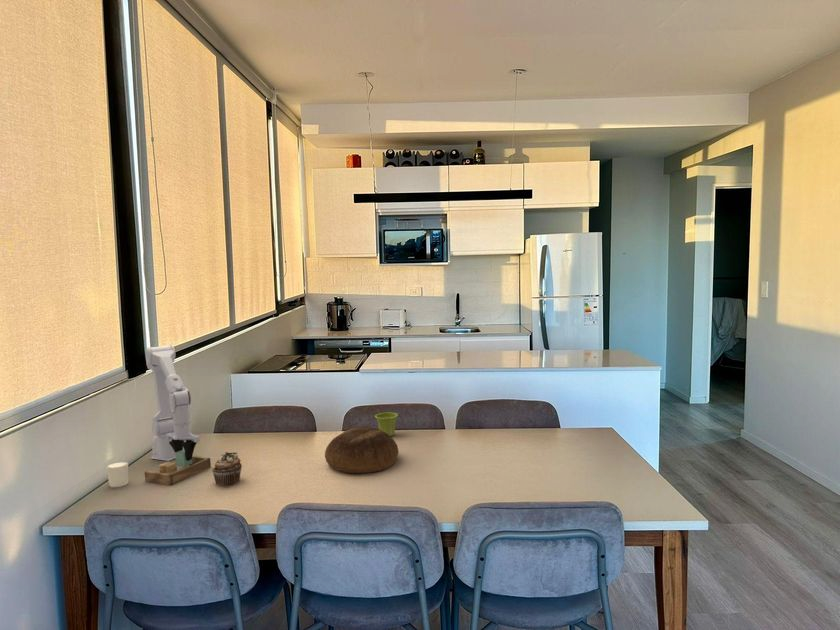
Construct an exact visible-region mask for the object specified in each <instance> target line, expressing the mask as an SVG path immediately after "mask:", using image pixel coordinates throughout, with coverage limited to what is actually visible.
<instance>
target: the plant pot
mask: <svg viewBox="0 0 840 630" xmlns="http://www.w3.org/2000/svg"><path fill="white" fill-rule="evenodd" d="M397 417H399V415H398V413H396V412H381V413H377V414H376V415H375V418H376V421H377V424H378V429H380V430H382V431H384V432H386V433H387V434H388V435H390V436H391V437H393V436H395V431H396V423H397V421H396V420H397Z"/></svg>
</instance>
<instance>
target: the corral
mask: <svg viewBox="0 0 840 630" xmlns="http://www.w3.org/2000/svg"><path fill="white" fill-rule="evenodd" d="M192 462H193V463H192V464H190V465H188V466H185V467H183V468H181V469H179V470H177V471H176V472H174V473H172V474H165V473H160V472H157V471H150V470H146V471H144V482H146V483H153V484H158V485H159V484H161V485H166V486H173V485H176V484H177V483H179V482H182V481H184V480H186V479H188V478H191V477H193V476H195V475H198V474H199V473H201V472H202V473H203V472H204V471H206V470H209V469H210V468H211V467H212V464H211V458H210V457H203V456H198V455H197V456H195V455H193V456H192Z"/></svg>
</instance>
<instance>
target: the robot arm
mask: <svg viewBox="0 0 840 630" xmlns="http://www.w3.org/2000/svg"><path fill="white" fill-rule="evenodd" d="M176 355H177V354H176V349H175V347H174V346H173V344H169V345H162V346H152V347H147V348H146V349H145V362H146V367H147V370H151V371H152V375H153V380H154V381H153V382H154V389H155V394H156V395H155V396H156V403H157V410H158V411H157V412H156V413H155V414H154V415H153V416H152V417H151V431H152V434H153V437H152V441H151V447H152V450H151V451H152V456H151V458H150V459H152V460H160V461H165V462H171V461H172V460H174V459H175V460H176V458H175V452H178V451H180V450H183V449H184V450H185V456H186V460H187V461H189V460H191V459H192V456H194V451H195V448H196V445H197V444H198V442H200V441H201V436H200V435H199V434H198V435H197V434H195V433H192V427H191V417H190V405H191V403H192V397H191V395H192V394H191V393H190V390H189V389H188V388H187V387H185V385H184V382H183V380H182V378H181V375H179V374H177V372H176V368H175V365H174V363H175V359H176Z"/></svg>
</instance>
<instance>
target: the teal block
mask: <svg viewBox="0 0 840 630" xmlns="http://www.w3.org/2000/svg"><path fill="white" fill-rule="evenodd" d="M175 463H176V465H177V467H183V468H186V467H188V466H190V464H192V463H193V462H192V459H191V460H189V461H187V460H186V456H185V450H184V448H183V450H180V451H178V452H175Z"/></svg>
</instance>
